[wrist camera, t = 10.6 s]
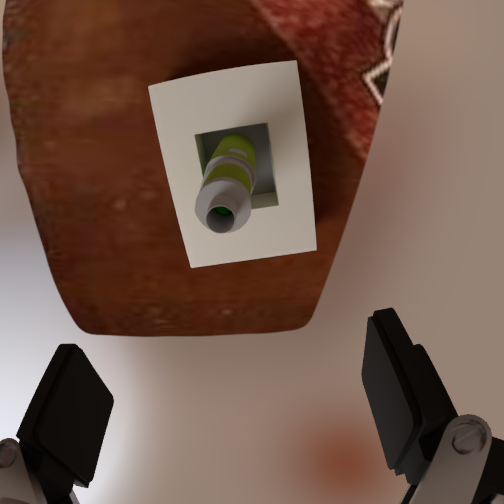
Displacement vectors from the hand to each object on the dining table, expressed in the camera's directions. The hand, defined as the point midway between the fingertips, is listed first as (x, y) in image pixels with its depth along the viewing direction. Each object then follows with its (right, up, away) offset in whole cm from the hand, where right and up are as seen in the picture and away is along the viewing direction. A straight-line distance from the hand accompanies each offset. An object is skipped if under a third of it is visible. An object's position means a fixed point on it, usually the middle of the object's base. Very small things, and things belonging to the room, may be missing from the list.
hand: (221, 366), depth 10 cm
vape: (-1, +14, +25) cm, 29 cm away
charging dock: (-1, +14, +26) cm, 30 cm away
